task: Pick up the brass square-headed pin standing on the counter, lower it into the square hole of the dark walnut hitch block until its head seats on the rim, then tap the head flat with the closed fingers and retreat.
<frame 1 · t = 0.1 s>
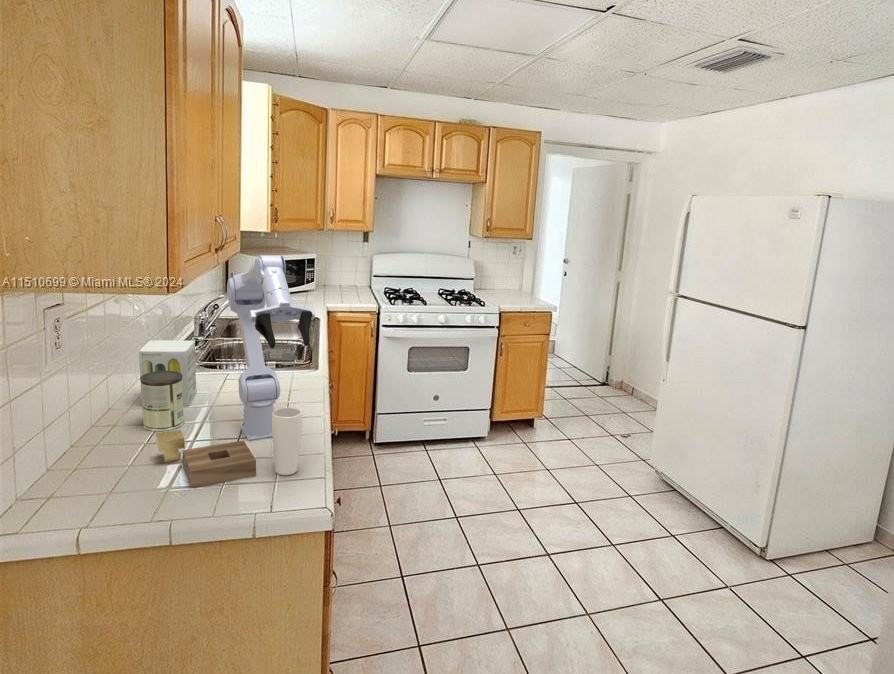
hand: (290, 344, 125), 32 cm above the worktop, tool tilted 50°, fingers open, 7 cm apart
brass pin: (171, 458, 137), on the worktop
hitch block: (219, 470, 133), on the worktop
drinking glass: (286, 471, 135), on the worktop
supplement box: (170, 400, 175), on the worktop
coffee can: (163, 425, 157), on the worktop
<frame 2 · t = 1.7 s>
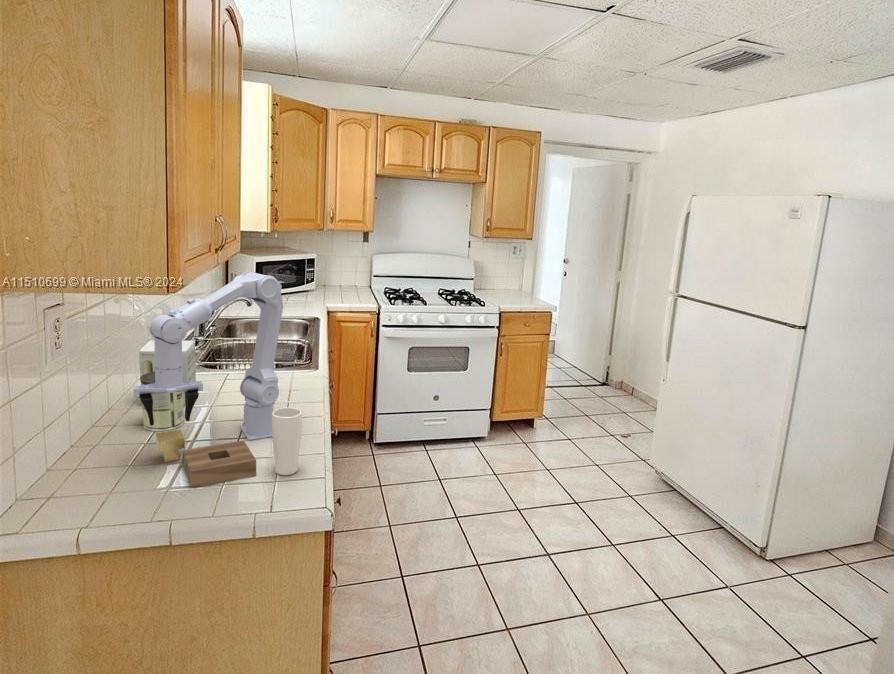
hand: (169, 421, 134), 10 cm above the worktop, tool pointing down, fingers open, 7 cm apart
nothing on the worktop moved.
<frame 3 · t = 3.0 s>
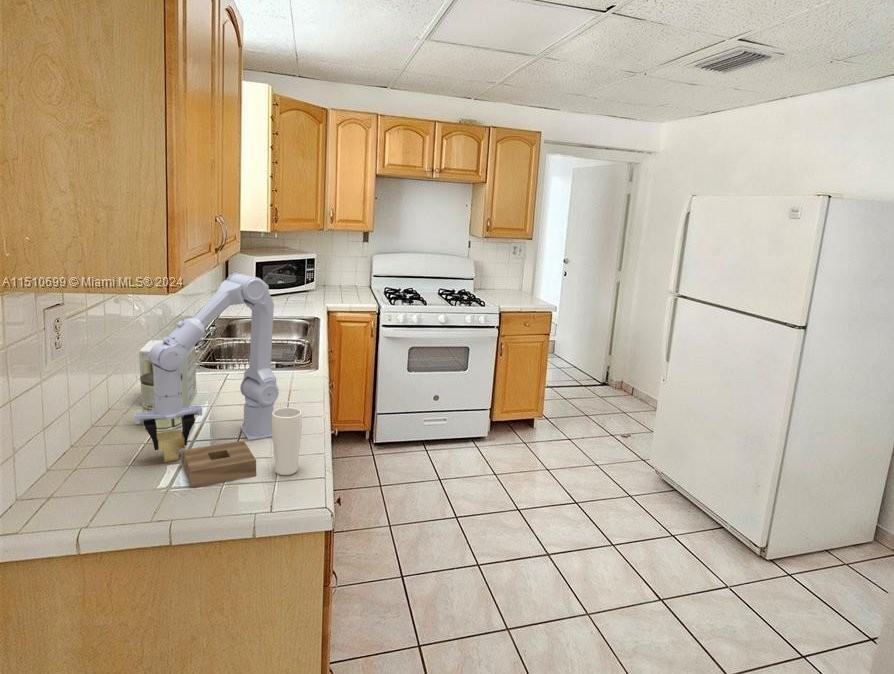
hand: (170, 446, 137), 3 cm above the worktop, tool pointing down, fingers closed on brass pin, 6 cm apart
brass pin: (170, 458, 137), on the worktop, touching gripper
everything else where it was.
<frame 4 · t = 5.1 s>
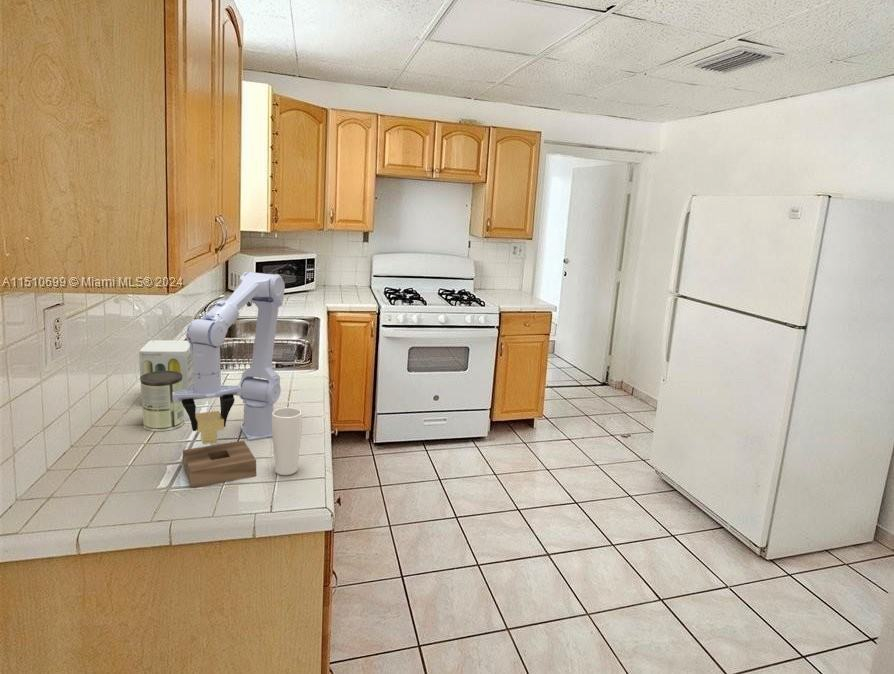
hand: (208, 427, 132), 10 cm above the worktop, tool pointing down, fingers closed on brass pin, 6 cm apart
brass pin: (208, 440, 132), point 7 cm above the worktop, touching gripper
everything else where it was.
when the fingers open (5 cm above the worktop, at t = 7.3 s): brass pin stays where it is, resting on hitch block.
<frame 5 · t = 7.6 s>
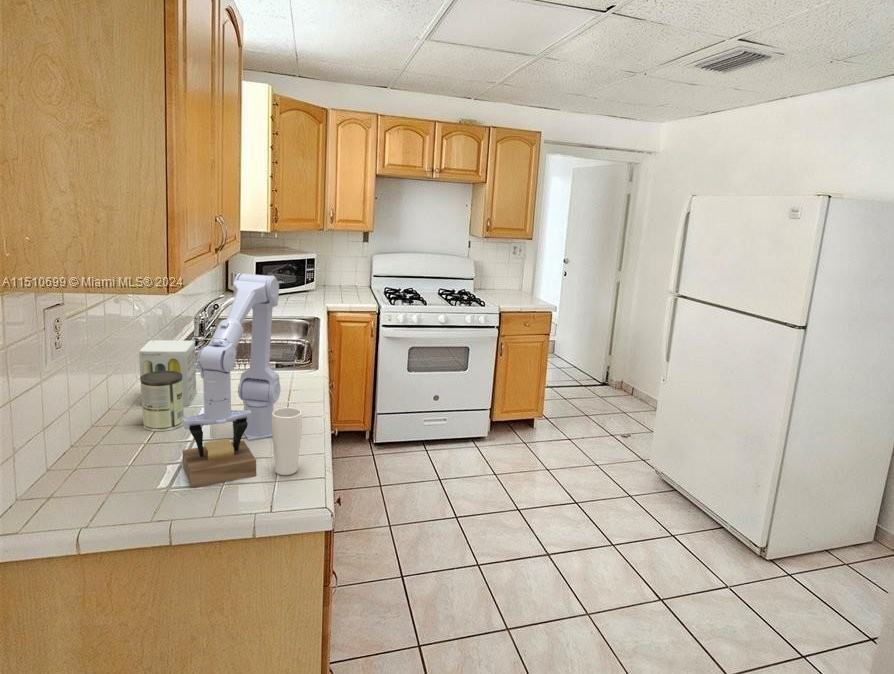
hand: (218, 452, 132), 5 cm above the worktop, tool pointing down, fingers open, 7 cm apart
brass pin: (219, 468, 133), resting on hitch block
everything else where it was.
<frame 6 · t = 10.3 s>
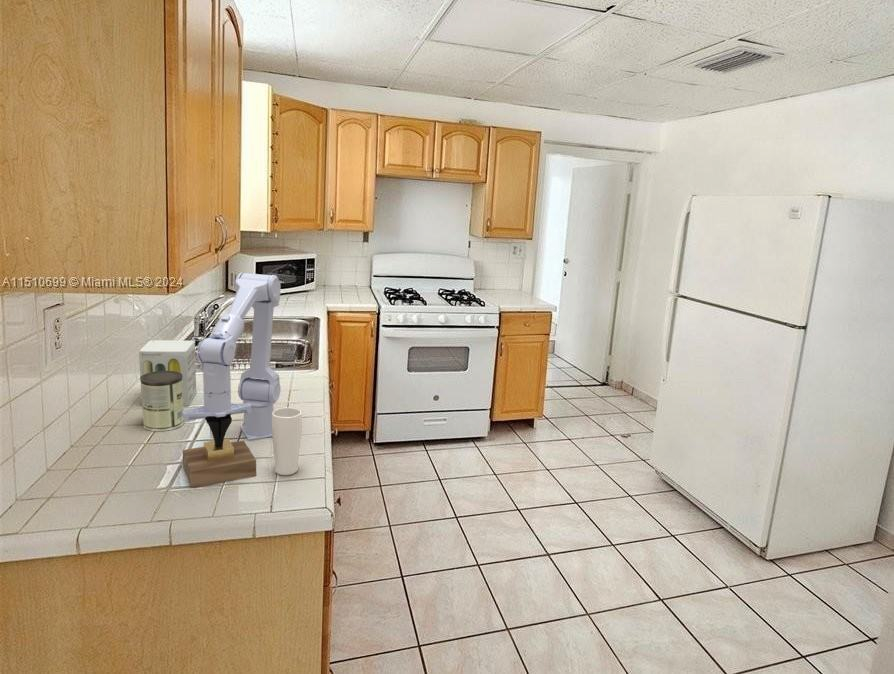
hand: (218, 445, 132), 6 cm above the worktop, tool pointing down, fingers closed, pressing on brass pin
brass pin: (219, 468, 133), resting on hitch block, touching gripper
everything else where it was.
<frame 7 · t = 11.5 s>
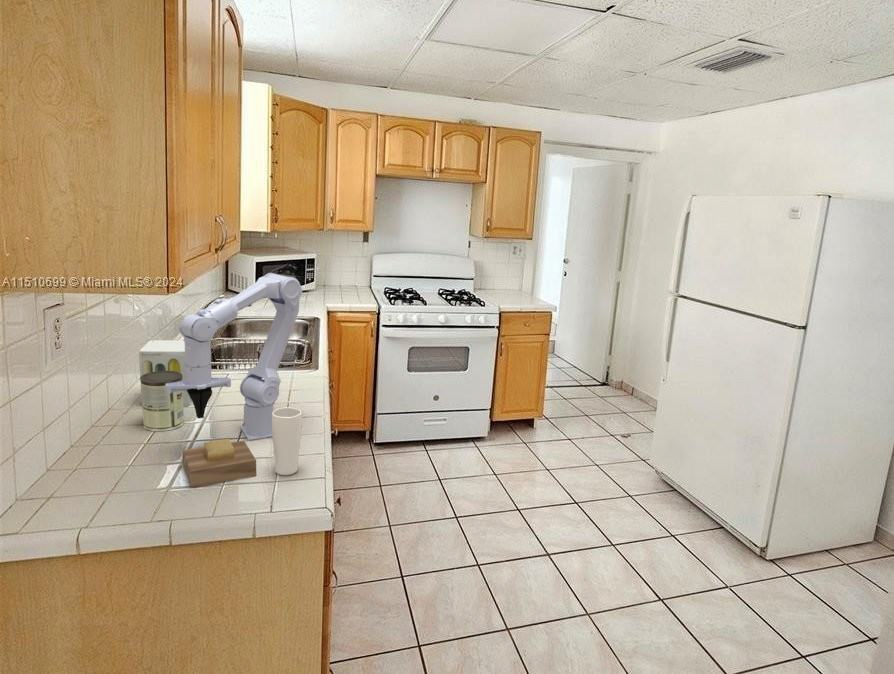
hand: (200, 416, 140), 9 cm above the worktop, tool pointing down, fingers closed
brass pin: (219, 468, 133), resting on hitch block
everything else where it was.
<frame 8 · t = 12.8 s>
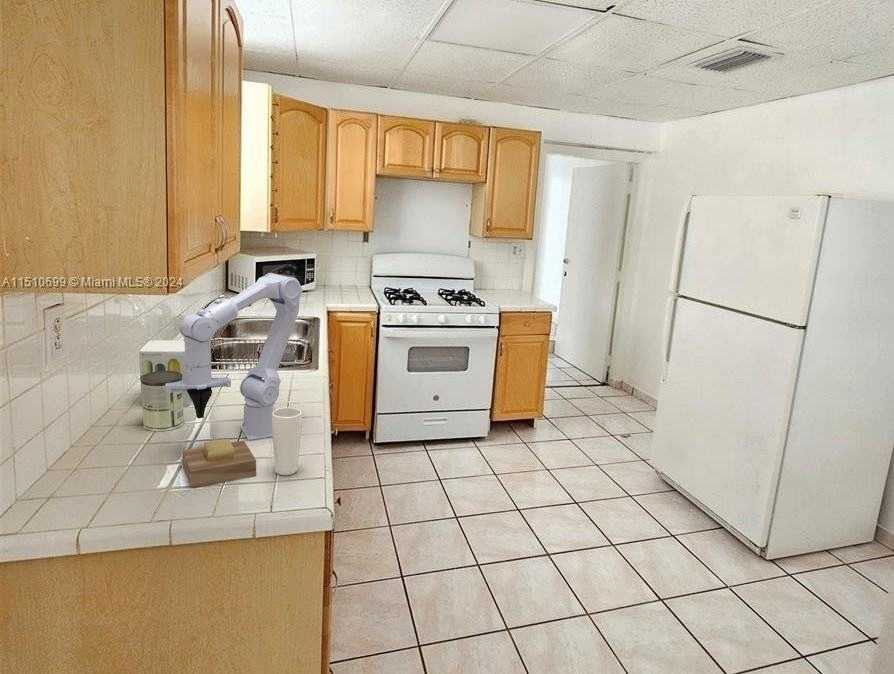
hand: (200, 416, 140), 9 cm above the worktop, tool pointing down, fingers closed
nothing on the worktop moved.
at the end: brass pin 0.0 cm off-centre on the hitch block, point 0.5 cm above the hitch block's base; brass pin tilted 0°; the gripper is holding nothing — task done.
